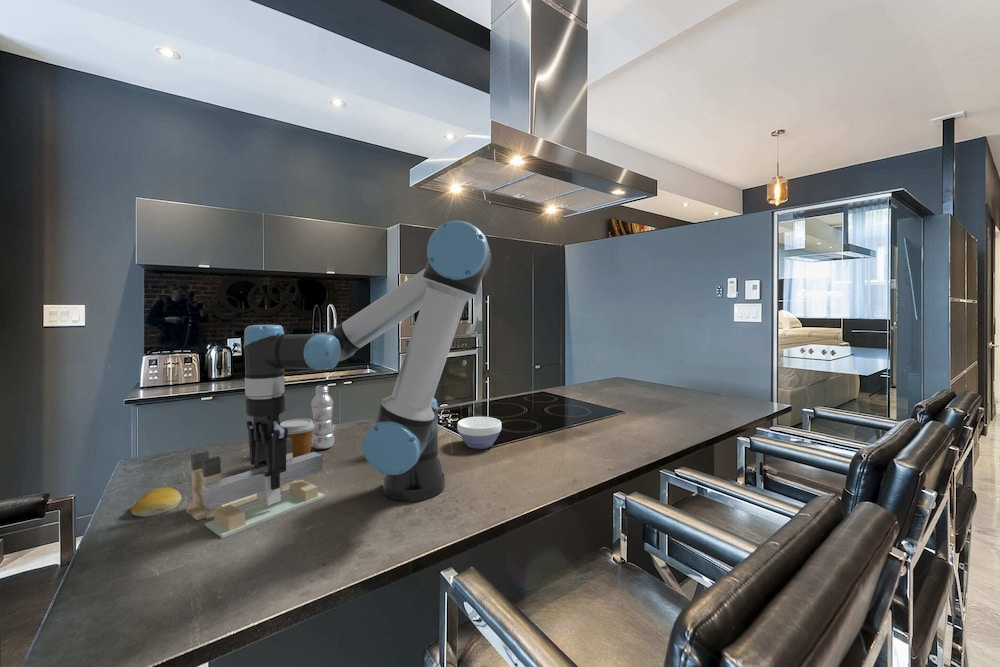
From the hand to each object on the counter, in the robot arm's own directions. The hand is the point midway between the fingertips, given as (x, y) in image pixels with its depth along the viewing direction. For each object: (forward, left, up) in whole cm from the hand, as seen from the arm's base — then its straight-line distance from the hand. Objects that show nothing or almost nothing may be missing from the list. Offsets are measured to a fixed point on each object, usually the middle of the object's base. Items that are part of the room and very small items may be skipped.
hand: (268, 499), depth 94 cm
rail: (0, 0, +3) cm, 3 cm away
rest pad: (0, 0, -2) cm, 2 cm away
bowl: (-10, -63, -3) cm, 64 cm away
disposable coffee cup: (+22, -19, -3) cm, 30 cm away
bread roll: (+22, +14, -3) cm, 26 cm away
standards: (+11, 0, -2) cm, 11 cm away
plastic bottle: (+28, -31, -3) cm, 42 cm away
